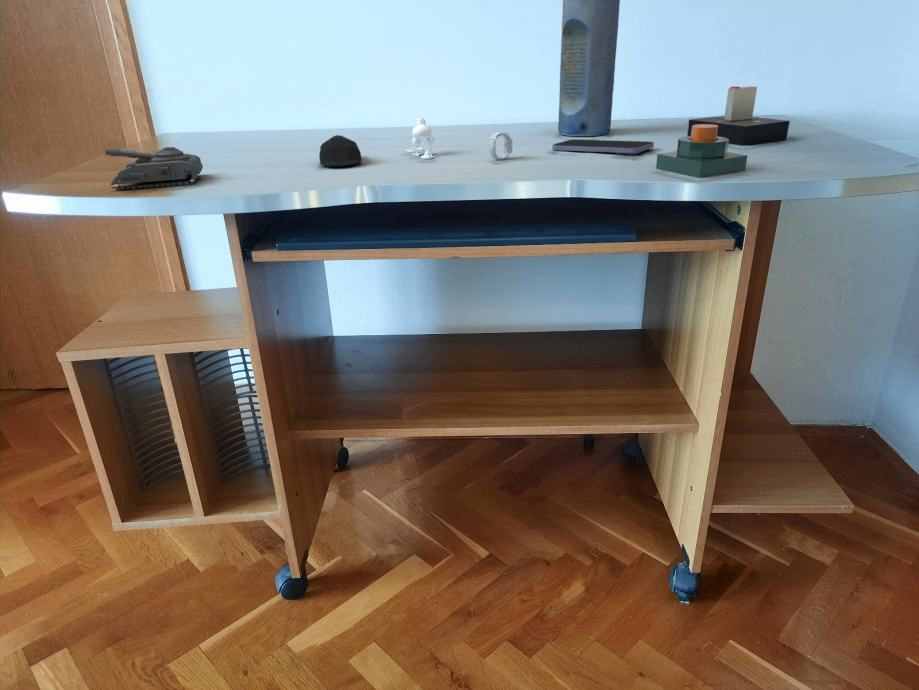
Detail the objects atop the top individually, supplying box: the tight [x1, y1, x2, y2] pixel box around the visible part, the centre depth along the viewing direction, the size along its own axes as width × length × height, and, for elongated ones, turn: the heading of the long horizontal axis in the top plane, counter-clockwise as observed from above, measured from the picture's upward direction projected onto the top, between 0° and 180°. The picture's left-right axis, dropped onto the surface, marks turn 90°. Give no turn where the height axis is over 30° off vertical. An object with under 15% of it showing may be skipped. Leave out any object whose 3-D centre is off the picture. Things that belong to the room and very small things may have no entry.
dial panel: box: [686, 115, 791, 147], centre depth 107 cm, size 12×10×3 cm
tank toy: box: [104, 146, 203, 190], centre depth 90 cm, size 12×10×5 cm
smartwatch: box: [487, 131, 513, 161], centre depth 98 cm, size 4×2×4 cm, turn 123°
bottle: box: [557, 0, 621, 137], centre depth 113 cm, size 10×10×30 cm
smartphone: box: [551, 139, 655, 156], centre depth 102 cm, size 7×1×15 cm
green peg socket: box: [655, 135, 748, 179], centre depth 85 cm, size 8×8×4 cm
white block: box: [724, 85, 758, 121], centre depth 105 cm, size 5×1×5 cm, turn 116°
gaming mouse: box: [318, 134, 362, 168], centre depth 102 cm, size 6×15×4 cm, turn 12°
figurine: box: [406, 117, 437, 160], centre depth 104 cm, size 5×10×6 cm, turn 8°
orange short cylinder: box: [691, 124, 718, 141], centre depth 84 cm, size 3×3×2 cm
